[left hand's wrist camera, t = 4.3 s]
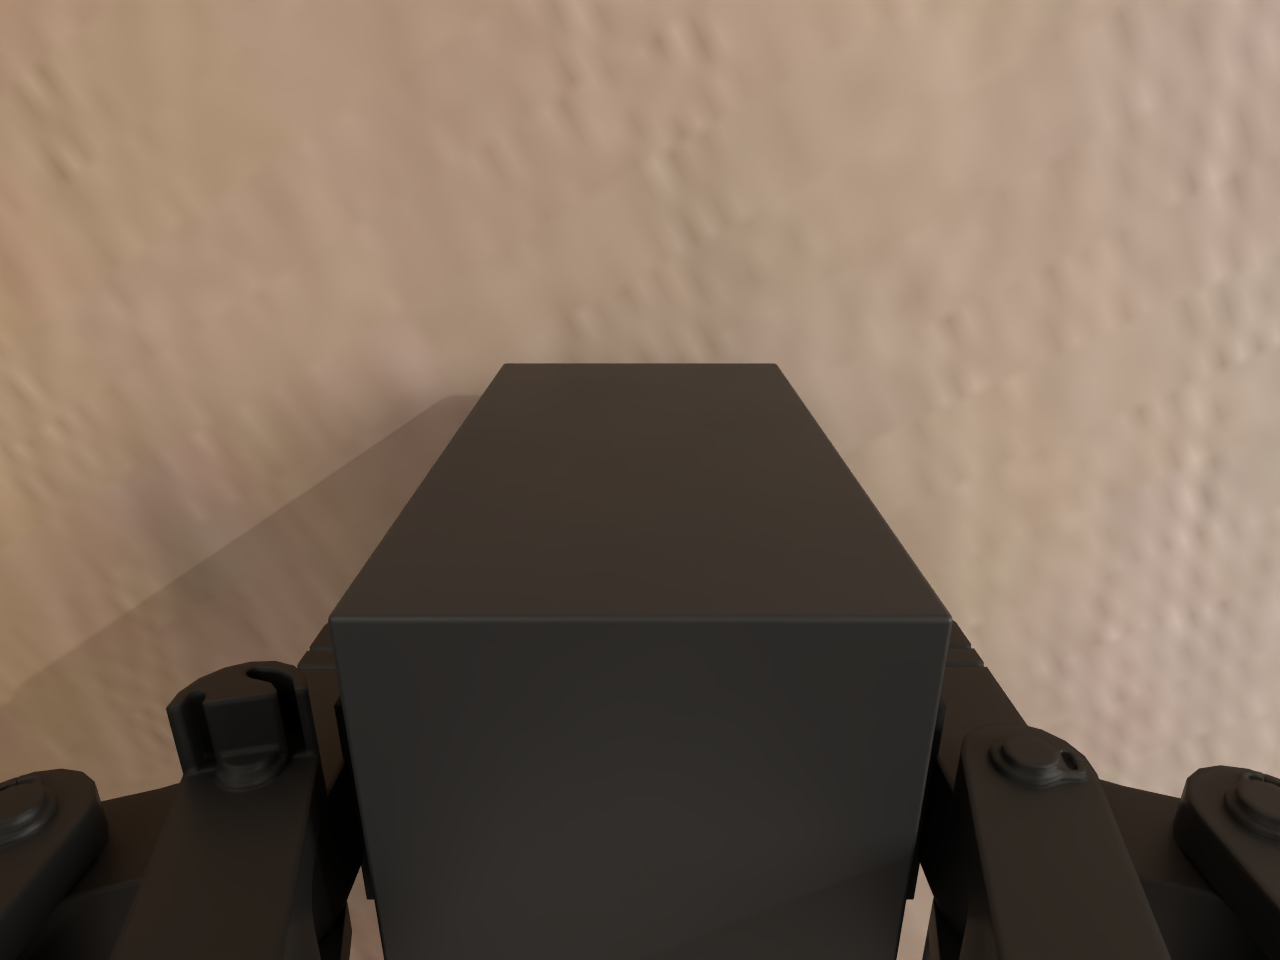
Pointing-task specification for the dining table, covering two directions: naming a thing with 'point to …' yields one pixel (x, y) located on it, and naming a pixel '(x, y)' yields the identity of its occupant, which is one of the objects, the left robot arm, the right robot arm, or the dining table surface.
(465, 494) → the bar
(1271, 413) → the dining table surface
